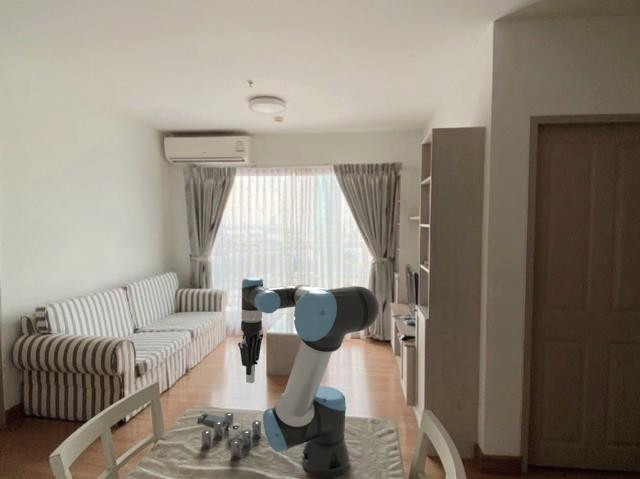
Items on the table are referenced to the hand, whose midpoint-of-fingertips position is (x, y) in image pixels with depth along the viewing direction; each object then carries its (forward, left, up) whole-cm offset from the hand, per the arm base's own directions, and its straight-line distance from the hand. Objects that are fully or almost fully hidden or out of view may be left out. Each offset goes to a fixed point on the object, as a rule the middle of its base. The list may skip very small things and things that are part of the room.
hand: (250, 381), depth 130 cm
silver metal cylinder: (0, +9, -17) cm, 19 cm away
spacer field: (0, +11, -17) cm, 20 cm away
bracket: (+14, +4, -17) cm, 23 cm away
